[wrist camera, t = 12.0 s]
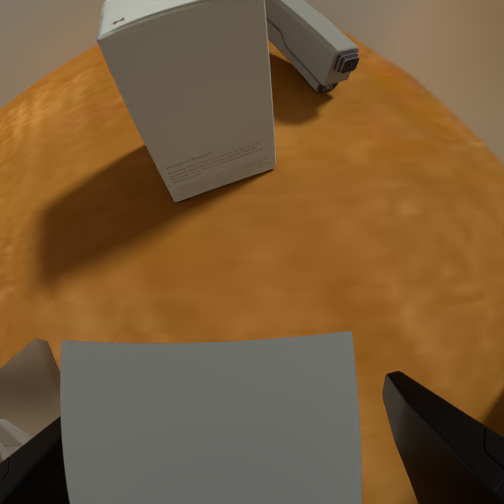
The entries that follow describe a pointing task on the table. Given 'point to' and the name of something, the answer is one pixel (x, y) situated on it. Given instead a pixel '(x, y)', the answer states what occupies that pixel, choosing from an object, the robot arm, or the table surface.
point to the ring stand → (28, 396)
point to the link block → (212, 422)
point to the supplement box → (194, 86)
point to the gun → (310, 43)
